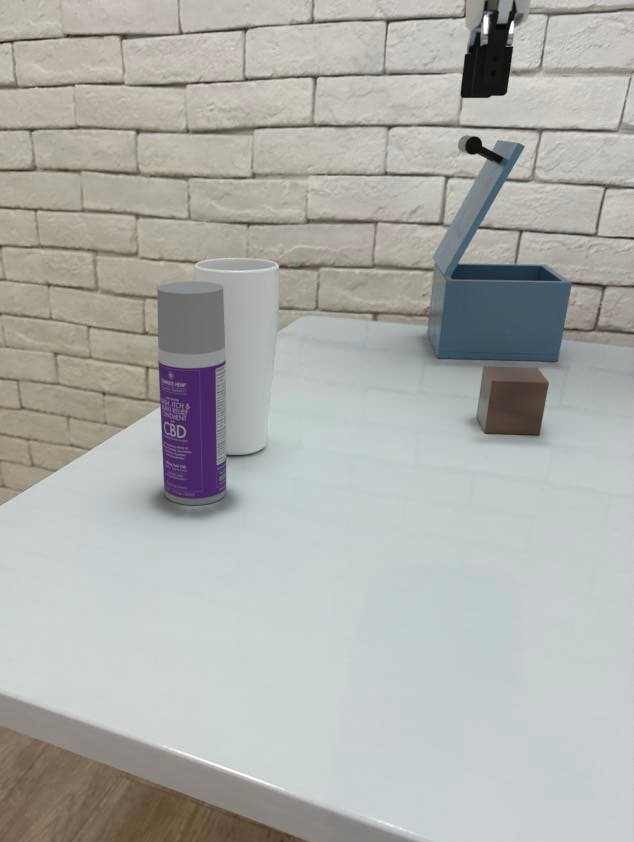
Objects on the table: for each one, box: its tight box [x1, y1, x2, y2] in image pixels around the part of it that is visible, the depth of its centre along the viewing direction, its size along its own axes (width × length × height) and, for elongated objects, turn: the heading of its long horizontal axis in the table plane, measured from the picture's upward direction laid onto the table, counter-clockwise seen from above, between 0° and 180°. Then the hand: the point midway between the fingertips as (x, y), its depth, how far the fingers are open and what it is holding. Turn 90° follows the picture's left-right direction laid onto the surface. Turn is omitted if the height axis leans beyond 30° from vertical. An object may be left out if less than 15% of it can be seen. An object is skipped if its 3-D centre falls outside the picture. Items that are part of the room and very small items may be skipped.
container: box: [156, 280, 227, 506], centre depth 58 cm, size 5×5×15 cm
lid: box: [431, 134, 526, 278], centre depth 93 cm, size 15×13×5 cm
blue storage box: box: [426, 262, 573, 362], centre depth 98 cm, size 14×13×9 cm
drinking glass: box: [193, 257, 281, 456], centre depth 67 cm, size 7×7×15 cm
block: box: [476, 365, 550, 436], centre depth 74 cm, size 5×5×5 cm
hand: (481, 96), depth 82 cm, fingers open, 9 cm apart
